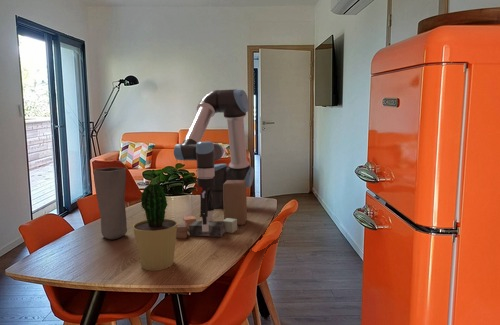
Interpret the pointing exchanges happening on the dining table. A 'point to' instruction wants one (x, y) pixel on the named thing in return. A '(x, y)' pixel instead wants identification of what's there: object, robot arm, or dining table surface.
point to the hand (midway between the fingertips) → (207, 228)
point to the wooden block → (235, 200)
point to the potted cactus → (155, 231)
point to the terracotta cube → (189, 220)
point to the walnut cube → (181, 231)
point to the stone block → (214, 229)
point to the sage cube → (230, 225)
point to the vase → (111, 201)
